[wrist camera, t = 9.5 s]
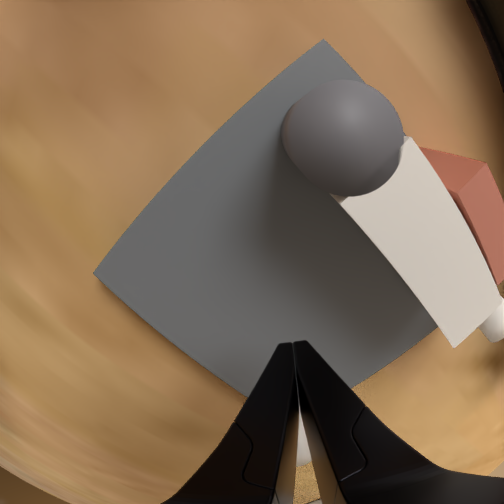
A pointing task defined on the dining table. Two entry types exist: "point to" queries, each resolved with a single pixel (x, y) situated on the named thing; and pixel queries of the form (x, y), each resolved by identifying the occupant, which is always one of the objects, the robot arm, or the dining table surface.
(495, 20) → the diary
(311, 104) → the hinged leg
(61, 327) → the dining table surface
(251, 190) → the plate with cream post
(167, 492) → the dining table surface
